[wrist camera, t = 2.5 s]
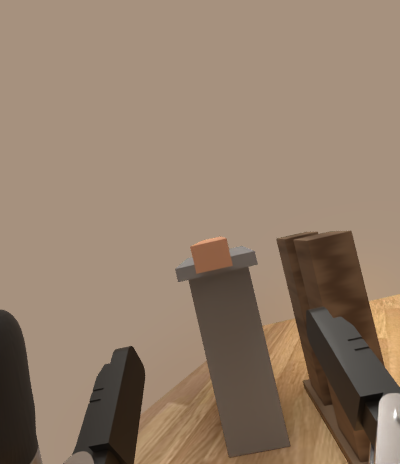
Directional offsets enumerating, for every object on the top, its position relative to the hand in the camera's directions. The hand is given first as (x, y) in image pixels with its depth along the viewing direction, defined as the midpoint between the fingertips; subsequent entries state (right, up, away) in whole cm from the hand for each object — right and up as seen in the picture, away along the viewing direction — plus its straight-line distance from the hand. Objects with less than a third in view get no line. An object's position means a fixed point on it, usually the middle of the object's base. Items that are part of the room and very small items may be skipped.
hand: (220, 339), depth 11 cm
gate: (+24, -27, +30) cm, 47 cm away
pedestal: (+9, -31, +33) cm, 46 cm away
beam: (+1, +1, +28) cm, 28 cm away
